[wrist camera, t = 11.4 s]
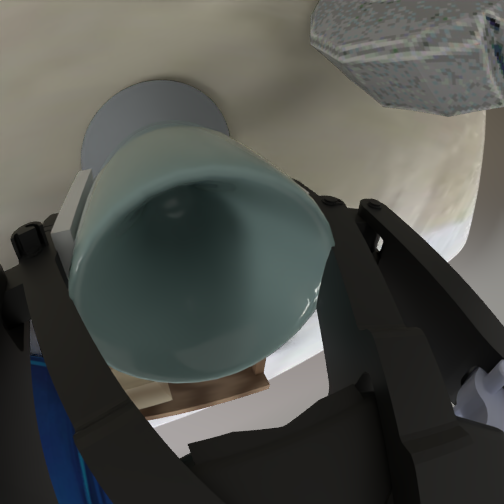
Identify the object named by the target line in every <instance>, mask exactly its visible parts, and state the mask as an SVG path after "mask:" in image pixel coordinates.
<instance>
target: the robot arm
mask: <svg viewBox="0 0 504 504" xmlns="http://www.w3.org/2000/svg"><path fill="white" fill-rule="evenodd" d="M293 180H294V181H295V182H296V183H297V184H298V185H299V186H300V187H301V188H302V189H303V190H304V191H305V192H307V193H308V194H309V195H310V196H311V197H312V198H313V199H314V201H315V202H316V204H317V205H318V206H319V208H320V210H321V211H322V213H323V214H324V216H325V217H326V219H327V221H328V222H329V225H330V228H331V231H332V234H333V237H334V241H335V246H333V247H331V250H330V253H329V256H328V259H327V261H326V265H325V268H324V272H323V276H322V280H321V285H320V289H319V294H318V299H317V305H316V308H317V314H318V319H319V325H320V330H321V336H322V342H323V348H324V354H325V359H326V366H327V373H328V379H329V393H328V396H327V397H324V398H322V399H320V400H318V401H317V402H316V403H315V404H313V405H312V406H311V407H310V408H308V409H307V410H306V411H304V412H303V413H302V414H301V415H299V416H298V417H297V418H295V419H294V420H292V421H291V422H290V423H288V424H287V425H285V426H283V427H279V428H271V429H262V430H251V431H239V432H231V433H228V434H224V435H221V436H217V437H214V438H210V439H206V440H202V441H198V442H194V443H190V444H188V446H189V449H190V452H191V453H189V454H187V455H185V456H184V457H182V458H180V459H179V458H178V457H177V455H176V454H175V453H174V452H173V451H172V450H171V449H170V448H169V447H168V445H167V444H166V443H165V442H164V441H163V439H162V438H161V437H160V436H159V435H158V433H157V432H156V431H155V430H154V429H153V427H152V426H151V425H150V423H149V422H148V421H147V420H146V418H145V417H144V416H143V414H142V413H141V412H140V411H139V409H138V408H137V407H136V405H135V404H134V403H133V401H132V400H131V399H130V398H129V396H128V395H127V393H126V392H125V390H124V389H123V388H122V386H121V385H120V383H119V382H118V380H117V379H116V377H115V376H114V374H113V372H112V371H111V369H110V368H109V366H108V365H107V363H106V361H105V360H104V358H103V356H102V355H101V353H100V351H99V350H98V348H97V346H96V344H95V343H94V341H93V339H92V337H91V336H90V334H89V332H88V330H87V328H86V326H85V324H84V322H83V321H82V319H81V317H80V315H79V313H78V311H77V309H76V307H75V305H74V303H73V300H72V299H71V298H70V297H69V292H68V276H69V266H70V259H71V254H72V249H73V245H74V241H75V236H76V233H77V229H78V225H79V221H80V218H81V215H82V211H83V208H84V205H85V202H86V199H87V196H88V193H89V191H90V188H91V186H92V183H93V175H92V169H87V170H82V171H78V173H77V175H76V177H75V179H74V181H73V183H72V185H71V187H70V189H69V192H68V194H67V196H66V198H65V200H64V202H63V205H62V207H61V209H60V212H59V213H56V214H52V215H50V216H49V217H48V218H47V219H46V220H45V221H44V223H43V225H42V223H41V222H30V223H28V224H25V225H23V226H21V227H20V228H18V229H17V230H16V231H15V232H14V233H13V234H12V236H11V242H12V245H13V247H14V250H15V252H16V255H17V257H18V259H19V265H17V266H15V267H13V268H11V269H9V270H7V271H5V272H4V270H3V268H2V266H1V265H0V504H59V503H58V500H57V497H56V494H55V491H54V488H53V485H52V482H51V479H50V476H49V472H48V469H47V465H46V461H45V457H44V453H43V449H42V444H41V440H40V435H39V430H38V424H37V418H36V412H35V405H34V397H33V388H32V377H31V361H30V321H29V320H32V323H33V327H34V330H35V334H36V337H37V340H38V343H39V346H40V349H41V352H42V355H43V358H44V361H45V363H46V366H47V369H48V371H49V374H50V377H51V379H52V381H53V384H54V386H55V389H56V391H57V393H58V396H59V398H60V400H61V402H62V404H63V406H64V409H65V411H66V413H67V415H68V417H69V419H70V421H71V423H72V425H73V427H74V429H75V434H74V435H73V439H74V442H75V445H76V447H77V449H78V451H79V453H80V454H81V456H82V458H83V459H84V461H85V463H86V464H87V466H88V468H89V469H90V471H91V472H92V474H93V476H94V477H95V479H96V480H97V482H98V483H99V485H100V486H101V487H102V489H103V490H104V492H105V493H106V495H107V496H108V497H109V499H110V500H111V501H112V503H113V504H504V326H503V325H502V324H501V323H500V322H499V320H498V319H497V318H496V316H495V315H494V314H493V313H492V312H491V310H490V309H489V308H488V307H487V305H485V303H484V302H483V301H482V300H481V299H480V298H479V296H478V295H477V294H476V293H475V292H474V291H473V289H471V287H470V286H469V285H468V284H467V283H466V282H465V281H464V280H463V279H462V277H461V276H460V275H459V274H458V273H457V272H456V271H455V270H454V269H453V268H452V267H451V266H450V265H449V264H448V263H447V262H446V261H445V260H444V259H443V258H442V257H441V256H440V255H439V254H438V253H437V252H436V251H435V250H434V249H433V248H432V247H431V246H430V245H429V244H428V243H427V242H426V241H425V240H424V239H423V238H422V237H421V236H420V235H418V234H417V233H416V232H415V231H414V230H413V229H412V228H411V227H410V226H409V225H407V224H406V223H405V222H404V221H403V220H402V219H401V218H400V217H398V216H397V215H396V214H395V213H394V212H393V211H391V210H390V209H389V208H388V207H387V206H386V205H384V204H383V203H381V202H379V201H378V200H375V199H362V200H361V201H360V205H359V209H353V208H347V207H346V205H345V203H344V202H343V201H341V200H340V199H338V198H335V197H332V196H318V195H317V194H316V193H314V192H313V191H312V190H310V189H309V188H308V187H306V186H304V184H302V183H301V182H299V181H297V180H295V179H293ZM380 237H381V238H382V239H383V245H382V248H381V250H380V251H379V250H378V249H377V244H378V241H379V238H380ZM451 402H452V403H453V404H454V405H455V406H454V407H452V404H451Z"/></svg>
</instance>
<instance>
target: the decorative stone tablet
mask: <svg viewBox="0 0 504 504" xmlns="http://www.w3.org/2000/svg"><path fill="white" fill-rule="evenodd" d="M310 44H311V45H312V46H313V47H314V48H316V49H317V50H318V51H319V52H320V53H321V54H323V55H324V56H325V57H326V58H327V59H328V60H329V61H331V62H332V63H333V64H334V65H335V66H336V67H337V68H338V69H339V70H341V71H342V72H343V73H344V74H345V75H346V76H347V77H348V78H349V79H350V80H351V81H353V82H354V83H355V84H356V85H358V86H359V87H360V88H362V89H363V90H364V91H365V92H367V93H368V94H369V95H370V96H371V97H373V98H374V99H375V100H376V101H377V102H379V103H380V104H381V105H382V106H383V107H390V108H398V109H406V110H413V111H419V112H426V113H431V114H437V115H442V116H447V117H449V116H454V115H459V114H465V113H470V112H475V111H481V110H487V109H493V108H500V107H504V0H320V1H319V3H318V4H317V6H316V8H315V10H314V11H313V13H312V15H311V31H310Z"/></svg>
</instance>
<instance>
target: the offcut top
mask: <svg viewBox="0 0 504 504" xmlns="http://www.w3.org/2000/svg"><path fill="white" fill-rule="evenodd" d="M111 371H112V372H113V374H114V376H115V377H116V379H117V380H118V382H119V383H120V385H121V386H122V388H123V389H124V390H125V392H126V393H127V395H128V396H129V398H130V399H131V400H132V401H133V403H134V404H135V405H136V407H137V408H138V409H143V408H147V407H150V406H154V405H157V404H161V403H164V402H167V401H171V400H173V399H172V396H171V392H170V389H169V385H168V383H164V382H155V381H150V380H145V379H140V378H136V377H133V376H130V375H127V374H125V373H122V372H119V371H117V370H115V369H111Z"/></svg>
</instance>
